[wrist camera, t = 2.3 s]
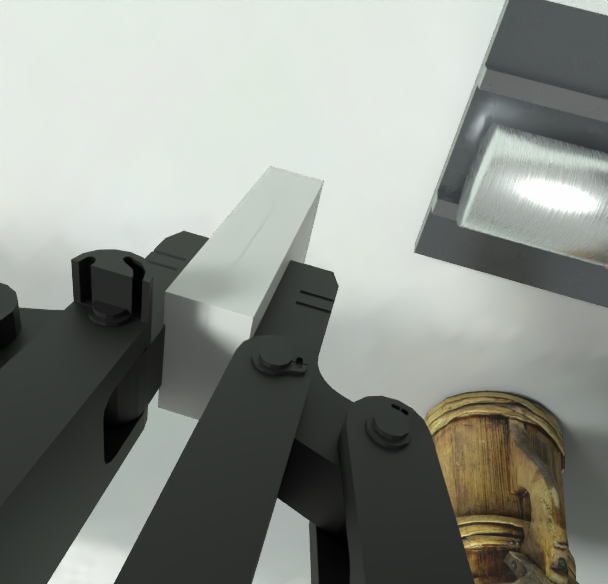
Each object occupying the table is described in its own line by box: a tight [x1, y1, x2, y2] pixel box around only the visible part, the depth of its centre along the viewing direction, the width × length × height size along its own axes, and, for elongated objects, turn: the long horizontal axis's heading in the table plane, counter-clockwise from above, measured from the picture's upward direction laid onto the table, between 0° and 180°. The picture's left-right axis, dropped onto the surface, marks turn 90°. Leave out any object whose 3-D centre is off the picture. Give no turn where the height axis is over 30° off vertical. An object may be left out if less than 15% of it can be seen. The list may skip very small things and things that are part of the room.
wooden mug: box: [425, 391, 579, 584], centre depth 25 cm, size 9×14×18 cm, turn 170°
